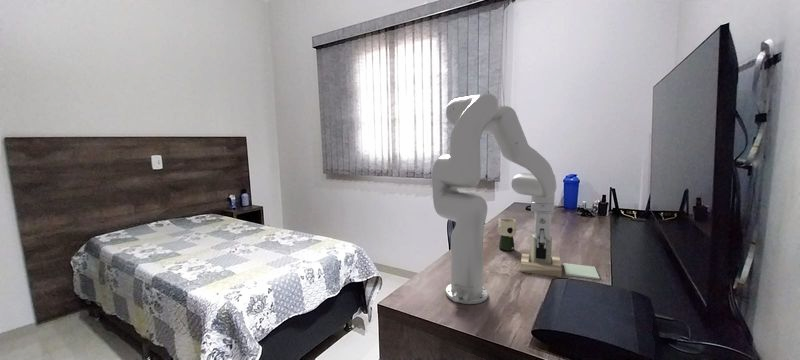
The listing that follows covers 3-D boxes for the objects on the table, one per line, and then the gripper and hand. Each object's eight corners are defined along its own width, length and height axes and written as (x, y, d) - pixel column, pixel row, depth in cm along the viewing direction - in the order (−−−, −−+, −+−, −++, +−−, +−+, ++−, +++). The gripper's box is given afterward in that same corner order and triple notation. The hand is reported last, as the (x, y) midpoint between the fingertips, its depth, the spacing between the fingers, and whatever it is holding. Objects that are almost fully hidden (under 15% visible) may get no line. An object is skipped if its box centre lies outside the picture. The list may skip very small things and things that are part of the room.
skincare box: (546, 265, 116) (548, 233, 115) (551, 270, 112) (552, 237, 110) (529, 264, 117) (530, 233, 115) (533, 269, 112) (534, 237, 111)
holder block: (561, 277, 106) (561, 268, 105) (520, 271, 111) (520, 263, 110) (558, 263, 117) (559, 255, 117) (521, 258, 123) (522, 251, 122)
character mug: (504, 254, 128) (505, 223, 126) (491, 249, 134) (491, 220, 132) (521, 249, 134) (522, 219, 132) (508, 244, 140) (509, 216, 138)
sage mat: (599, 279, 103) (599, 277, 103) (565, 275, 107) (565, 273, 107) (594, 268, 112) (594, 266, 112) (563, 264, 116) (563, 262, 116)
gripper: (555, 212, 102) (553, 265, 104) (552, 203, 118) (550, 249, 120) (530, 211, 105) (529, 262, 107) (531, 202, 121) (529, 247, 123)
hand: (540, 255), depth 113 cm, fingers closed on skincare box, 5 cm apart
